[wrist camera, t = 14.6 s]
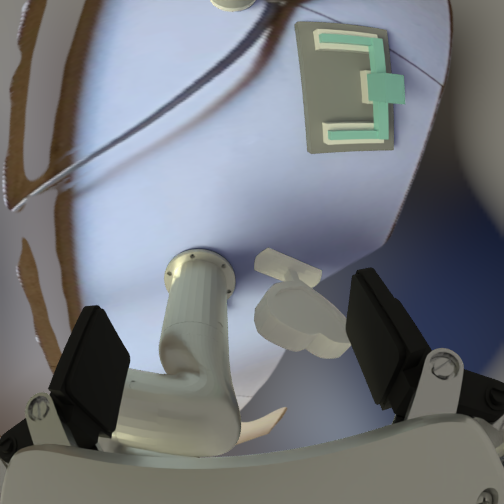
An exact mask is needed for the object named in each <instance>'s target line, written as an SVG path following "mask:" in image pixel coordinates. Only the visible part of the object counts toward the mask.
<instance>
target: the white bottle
mask: <svg viewBox="0 0 504 504" xmlns="http://www.w3.org/2000/svg"><path fill="white" fill-rule="evenodd" d="M210 1H211V3H212V4H213V5H214V6H215V7H217V8H218V9H221V10H223V11H229V12H236V11H242V10H244V9H247V8H248V7H250V6H251V5H252V4H253V3H254V2H255V0H210Z"/></svg>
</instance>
